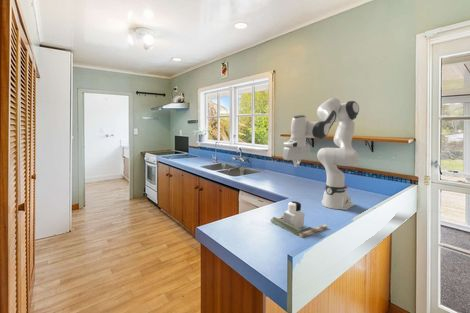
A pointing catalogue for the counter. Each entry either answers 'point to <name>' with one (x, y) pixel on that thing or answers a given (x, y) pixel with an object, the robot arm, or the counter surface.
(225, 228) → the counter surface
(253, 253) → the counter surface
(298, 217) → the container
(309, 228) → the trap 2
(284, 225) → the tan flat bar frame
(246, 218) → the counter surface
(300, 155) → the robot arm
